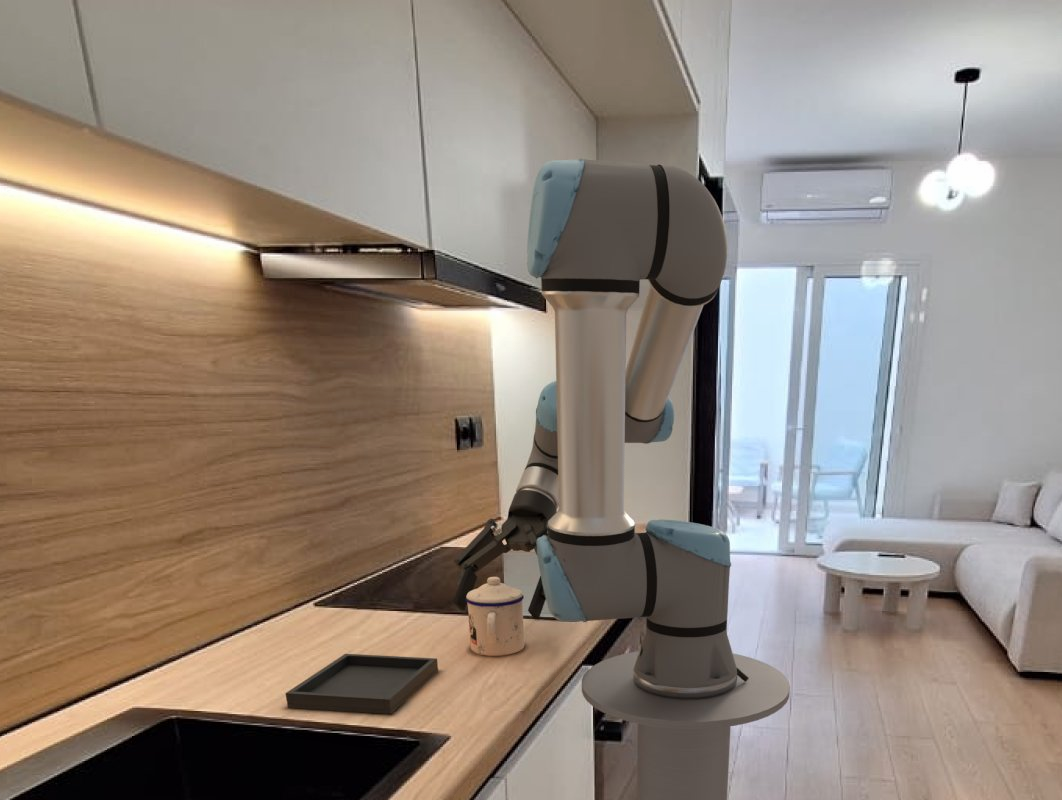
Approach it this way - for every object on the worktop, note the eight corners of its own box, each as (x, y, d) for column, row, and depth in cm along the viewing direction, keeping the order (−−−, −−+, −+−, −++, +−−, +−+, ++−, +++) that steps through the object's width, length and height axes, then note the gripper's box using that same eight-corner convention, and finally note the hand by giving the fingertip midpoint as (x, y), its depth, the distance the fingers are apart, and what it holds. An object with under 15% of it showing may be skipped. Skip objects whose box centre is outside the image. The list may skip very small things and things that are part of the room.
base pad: (438, 671, 121) (437, 658, 120) (391, 714, 106) (389, 699, 105) (346, 666, 123) (345, 653, 122) (287, 707, 108) (285, 693, 107)
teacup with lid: (473, 640, 135) (468, 571, 131) (527, 639, 136) (524, 571, 132) (463, 663, 124) (457, 589, 120) (522, 662, 125) (518, 589, 121)
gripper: (611, 519, 135) (573, 630, 127) (481, 510, 143) (439, 614, 136) (597, 491, 128) (557, 606, 120) (462, 483, 137) (417, 590, 129)
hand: (495, 610), depth 128 cm, fingers open, 13 cm apart
